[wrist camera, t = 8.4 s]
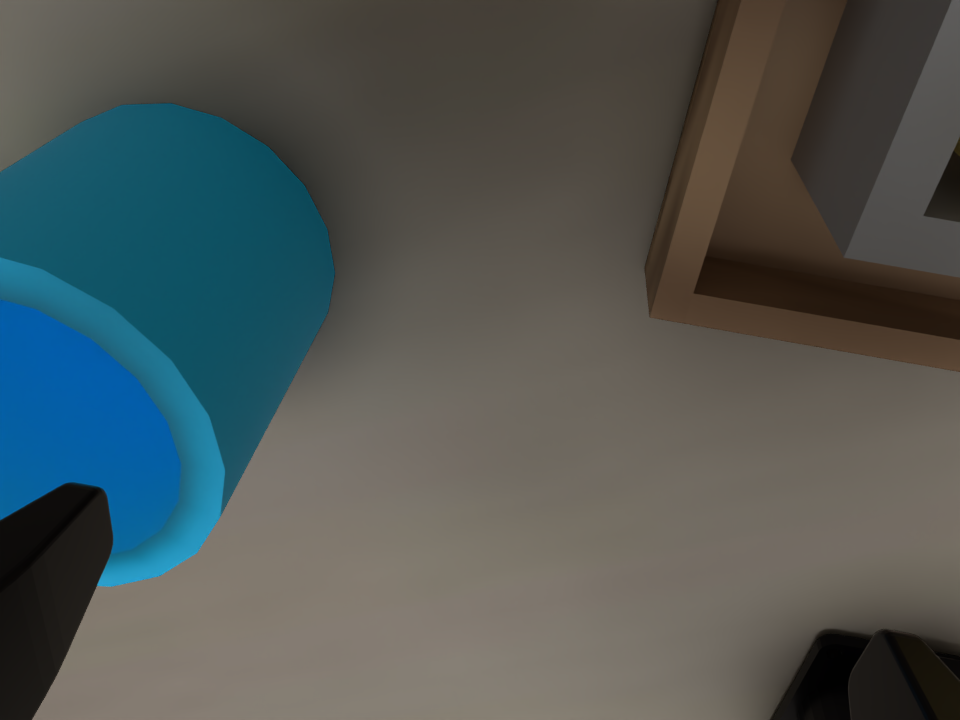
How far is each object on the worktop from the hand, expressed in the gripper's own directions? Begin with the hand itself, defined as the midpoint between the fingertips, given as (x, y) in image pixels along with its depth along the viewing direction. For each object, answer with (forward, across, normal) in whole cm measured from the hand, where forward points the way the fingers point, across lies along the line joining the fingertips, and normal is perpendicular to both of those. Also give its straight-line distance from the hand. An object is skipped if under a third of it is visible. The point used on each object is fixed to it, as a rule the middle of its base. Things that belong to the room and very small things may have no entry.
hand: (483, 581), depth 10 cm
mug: (+13, +11, +4) cm, 18 cm away
